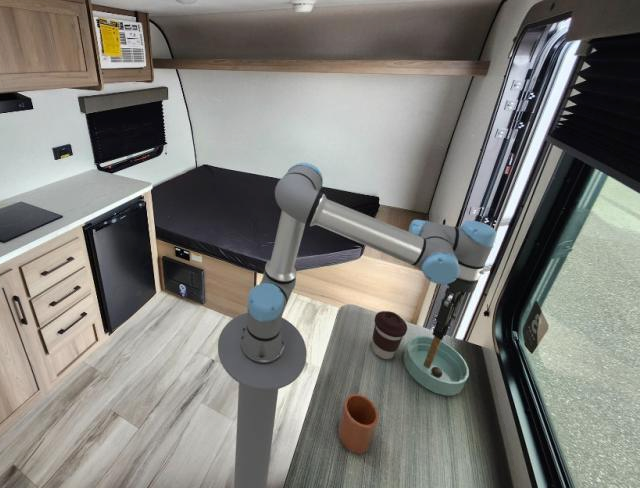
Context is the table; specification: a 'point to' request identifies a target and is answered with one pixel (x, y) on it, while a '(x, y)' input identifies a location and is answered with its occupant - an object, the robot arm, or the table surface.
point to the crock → (357, 423)
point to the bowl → (445, 360)
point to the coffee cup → (387, 333)
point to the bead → (436, 372)
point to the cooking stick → (432, 351)
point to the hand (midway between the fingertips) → (438, 334)
